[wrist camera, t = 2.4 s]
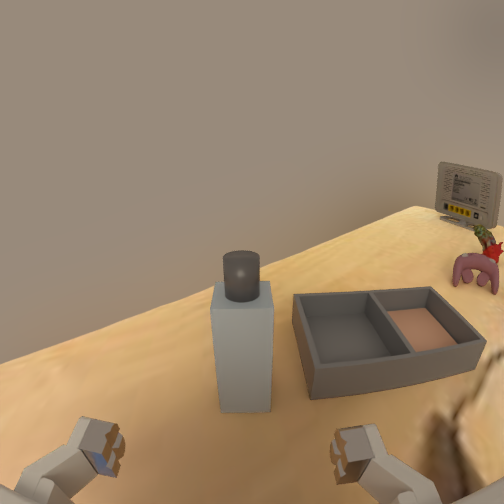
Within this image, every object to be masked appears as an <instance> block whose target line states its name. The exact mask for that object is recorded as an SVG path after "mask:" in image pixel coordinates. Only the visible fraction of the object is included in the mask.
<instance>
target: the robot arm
mask: <svg viewBox="0 0 504 504" xmlns="http://www.w3.org/2000/svg"><path fill="white" fill-rule="evenodd" d="M119 430H120V428H119V426H118V424H116V423H111V422H106V421H101V420H97V419H93V418H88V417H84V416H82V417H81V418H79V420H78V422H77V424H76V426H75V428H74V430H73V432H72V434H71V436H70V439H69V441H68V443H67V445H62V446H60V447H59V448H57V449H56V450H54V451H52V452H51V453H49V454H47V455H46V456H44V457H43V458H41V459H39V460H38V461H36V462H34V463H33V464H31V465H29V466H28V467H26V468H24V470H23V472H22V475H21V477H20V479H19V481H18V483H17V485H16V487H15V489H14V491H13V490H11V489H9V488H7V487H6V486H4V485H2V484H0V504H75V503H74V502H73V501H71V500H70V499H71V498H72V497H73V496H74V495H75V494H76V493H78V492H79V491H80V490H81V489H82V488H83V487H85V486H86V485H87V484H88V483H89V482H90V481H91V480H93V479H94V478H95V477H96V476H97V475H98V474H101V475H106V476H110V477H115V478H117V476H118V472H119V469H120V466H121V465H120V463H119V459H121V458H122V457H123V456H124V452H125V440H124V437H123V435H121V434H120V433H119ZM334 437H335V439H334V440H333V441H332V442H331V445H330V458H331V462H332V463H333V464H334V465H335V466H336V467H335V469H334V475H335V479H336V484H337V485H339V484H346V483H353V482H358V483H359V484H360V485H361V486H362V487H363V488H364V489H365V490H366V491H367V492H368V493H369V494H370V495H371V496H372V497H374V498H375V499H376V500H377V501H378V502H379V503H380V504H442V502H441V499H440V497H439V494H438V492H437V490H436V487H435V485H434V483H433V482H432V481H431V480H429V479H428V478H426V477H425V476H423V475H421V474H420V473H418V472H417V471H415V470H414V469H412V468H411V467H409V466H408V465H406V464H405V463H403V462H402V461H400V460H399V459H398V458H396V457H395V456H393V455H392V454H391V455H388V453H387V451H386V448H385V446H384V443H383V441H382V438H381V436H380V433H379V431H378V428H377V426H376V425H375V424H368V425H363V426H361V425H360V426H354V427H348V428H341V429H337V430H336V431H335V433H334ZM451 504H504V477H502V478H500V479H498V480H497V481H495V482H493V483H491V484H490V485H488V486H486V487H484V488H482V489H480V490H478V491H476V492H474V493H472V494H470V495H468V496H466V497H464V498H462V499H460V500H458V501H455V502H453V503H451Z"/></svg>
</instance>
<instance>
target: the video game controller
mask: <svg viewBox="0 0 504 504" xmlns="http://www.w3.org/2000/svg"><path fill="white" fill-rule="evenodd" d="M471 269H476V270H479V271H481V273H480V274H479V275H478V277H477V284H478V285H479V286H484V285H486V283H487V282H488V280H490V282H491V288H492V293H493V294H494V295H495V294H496V293H497V291H498V288H499V269H498V265H497V264H496V262H495V260H494V259H491V258H489V257H487V256H486V255H482V254H478V253H465V254H462V255H460V256H459V257H457V259H456V261H455V264H454V268H453V285H454V286H455V287H456V286H457V285H458V283H459V280H460V276H462V280H463V281H464V282H465V283H469V282H471V281H472V280H473V273H472V271H471Z"/></svg>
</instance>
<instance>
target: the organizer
mask: <svg viewBox="0 0 504 504" xmlns="http://www.w3.org/2000/svg"><path fill="white" fill-rule="evenodd" d="M292 324H293V328H294V332H295V336H296V340H297V344H298V349H299V353H300V357H301V361H302V366H303V370H304V374H305V379H306V383H307V387H308V392H309V396H310V400H314V399H325V398H334V397H342V396H350V395H358V394H365V393H371V392H377V391H383V390H389V389H395V388H400V387H405V386H410V385H415V384H419V383H424V382H428V381H433V380H437V379H441V378H445V377H449V376H453V375H456V374H460V373H464V372H467V371H470V370H474V369H475V368H476V365H477V363H478V361H479V359H480V356H481V354H482V352H483V349H484V347H485V344H486V342H487V341H486V340H485V339H484V338H483V336H482V335H481V334H480V333H479V332H478V331H477V330H476V329H475V328H474V327H473V326H472V325H471V324H470V323H469V322H468V321H467V320H466V319H465V318H464V317H463V316H462V315H461V314H460V313H459V312H457V311H456V310H455V309H454V308H453V307H452V306H451V305H450V304H449V303H448V302H447V301H446V300H445V299H444V298H443V297H442V296H441V295H440V294H438V293H437V292H436V291H435V290H434V289H433V288H432V287H431V286H429V287H416V288H403V289H388V290H372V291H354V292H333V293H309V294H293V312H292Z"/></svg>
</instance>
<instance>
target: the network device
mask: <svg viewBox="0 0 504 504" xmlns="http://www.w3.org/2000/svg"><path fill="white" fill-rule="evenodd" d="M501 189H502V175H501V174H500V173H496V172H492V171H488V170H483V169H478V168H474V167H468V166H463V165H459V164H453V163H447V162H440V163H439V165H438V180H437V191H436V202H435V210H436V211H437V212H440V213H443V214H446V215H449V216H440V219H441V220H443V221H446V222H449V223H451V224H454V225H457V226H460V227H463V228H466V229H468V230H471V231H474V229H473V228H470V227H467V226H468V225H472V226H475V225H479V224H481V225H483V226H484V227H485V228H487V229H492V228H495V227H496V226H497V220H498V214H499V206H500V198H501ZM446 218H451V219H455V220H458V221H459V222H453V221H450V220H447V219H446ZM487 229H486V230H487ZM474 232H475V231H474Z"/></svg>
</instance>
